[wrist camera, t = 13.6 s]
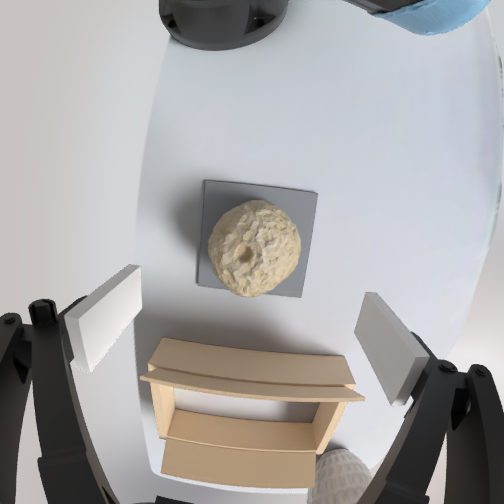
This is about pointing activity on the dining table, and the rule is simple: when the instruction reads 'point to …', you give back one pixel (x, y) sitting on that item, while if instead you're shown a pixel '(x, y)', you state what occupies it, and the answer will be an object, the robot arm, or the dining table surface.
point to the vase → (339, 479)
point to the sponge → (254, 248)
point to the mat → (289, 201)
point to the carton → (240, 430)
